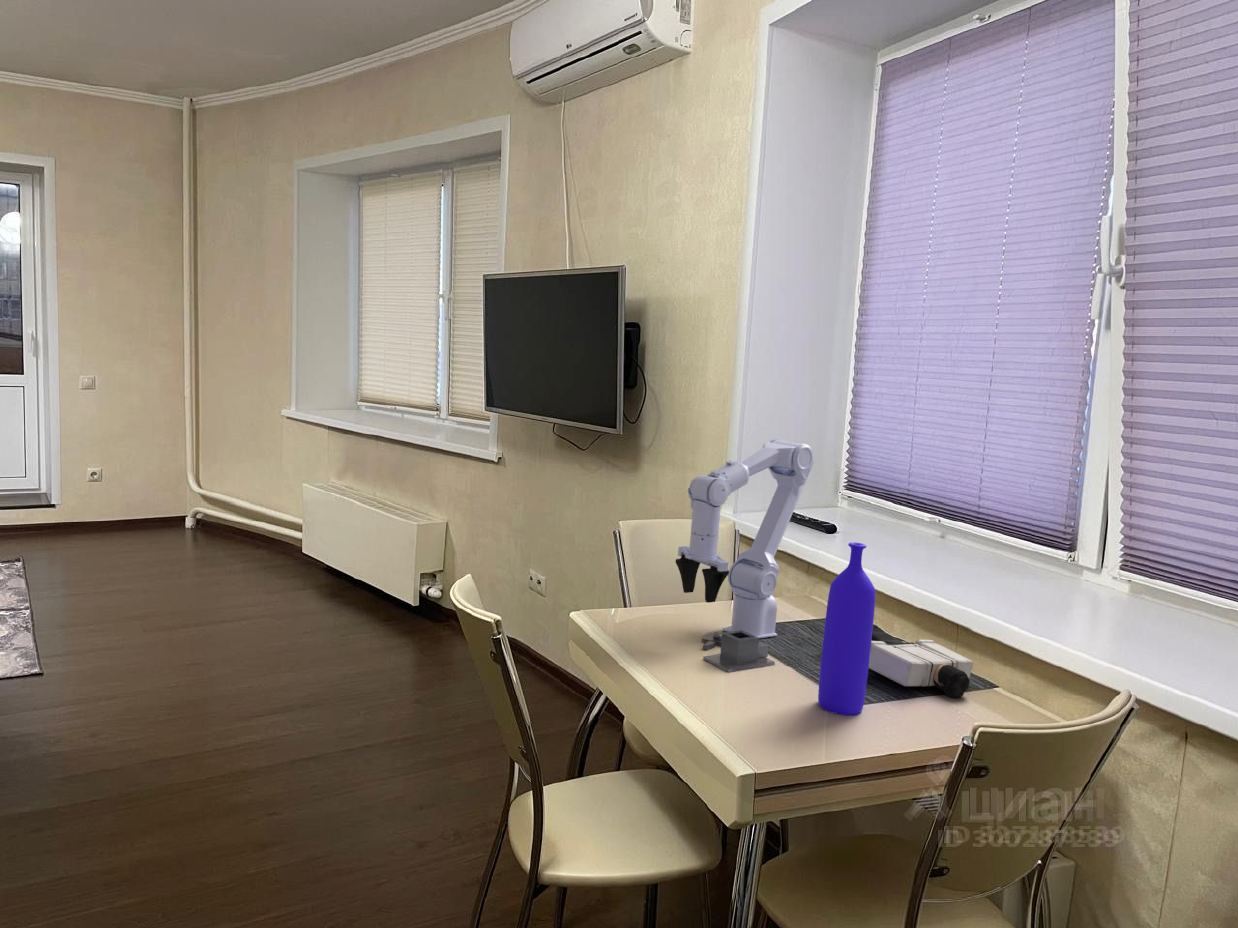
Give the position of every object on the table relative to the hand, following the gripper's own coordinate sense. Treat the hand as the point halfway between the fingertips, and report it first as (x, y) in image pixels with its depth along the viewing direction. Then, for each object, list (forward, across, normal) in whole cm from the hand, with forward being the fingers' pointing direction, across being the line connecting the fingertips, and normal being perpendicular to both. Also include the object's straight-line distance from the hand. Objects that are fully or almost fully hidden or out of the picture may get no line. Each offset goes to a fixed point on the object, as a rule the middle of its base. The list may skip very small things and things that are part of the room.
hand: (699, 596), depth 198 cm
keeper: (+10, +12, +2) cm, 16 cm away
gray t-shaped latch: (+10, +1, +4) cm, 11 cm away
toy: (+11, +30, +30) cm, 44 cm away
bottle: (+11, +38, +4) cm, 40 cm away
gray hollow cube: (+10, +12, +2) cm, 16 cm away
